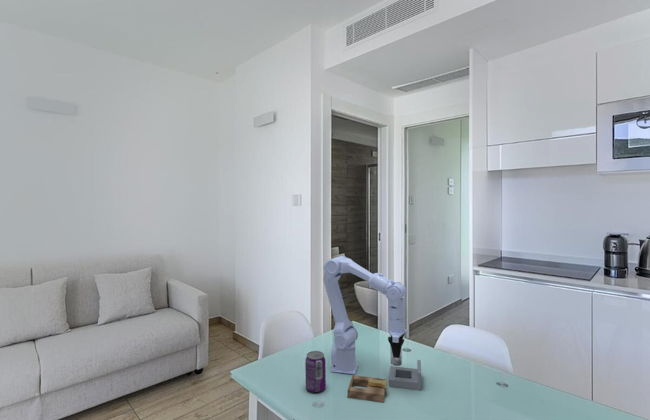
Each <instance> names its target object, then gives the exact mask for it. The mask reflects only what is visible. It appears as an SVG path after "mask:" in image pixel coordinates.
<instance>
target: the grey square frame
mask: <svg viewBox="0 0 650 420" xmlns="http://www.w3.org/2000/svg"><path fill="white" fill-rule="evenodd" d="M416 364H417V366H416V367H417V368H412V367H411V368H410V367H403V366H402V367H401V366H394V365H391V366H390V367H389V375H388V387H390V388H391V387H392V388H399V389H405V390H406V389H407V390H414V391H423V390H422V388H423V387H422V385H423V384H422V383H423V381H422V378H423V377H422V362H421V359H417V360H416Z"/></svg>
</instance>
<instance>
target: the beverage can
mask: <svg viewBox="0 0 650 420" xmlns="http://www.w3.org/2000/svg"><path fill="white" fill-rule="evenodd" d="M304 364H305V367H304V368H305V369H304V370H305V388H306V390H307V391H309V392H312V393H318V392H321V391H325V388H326V386H327V383H326V382H327V381H326V380H327V379H326V378H327V375H326V372H327V371H326V357H325V353H324V352H322V351H319V350H312V351H310V352H308V353H306V357H305V363H304Z"/></svg>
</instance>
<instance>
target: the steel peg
mask: <svg viewBox="0 0 650 420" xmlns="http://www.w3.org/2000/svg"><path fill="white" fill-rule="evenodd" d="M389 346H390V347H389V350H390V364H391V366H395V367H401V366H402V364H403V358H402V357H403V355H402V354H403V350H402V347H403V346H402V347H401V353H400V357H399V358H395V357H393V353H392V348H391V345H390V344H389Z"/></svg>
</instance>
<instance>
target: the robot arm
mask: <svg viewBox="0 0 650 420" xmlns="http://www.w3.org/2000/svg"><path fill="white" fill-rule="evenodd" d="M323 270H324V271H323V284H324V289H325V292H326V295H327V299H328V301H329V307H330V308H331V309H330V310H331V313H332V316H333V320H334V323H335V325H334V328H333V336H334V337H333V342H334V344H333V345H332V346H331V352H330V372H331V373H338V374H339V373H340V374H348V375H355V374H356V372H357V369H358V367H359V364H358V363H357V361H356V359H357V358H356V341H357V340H358V336H359V332H358V331H357V330H358V329H357V328H355V326H354V322H352V320H350V319H349V317H348V316H349V315H348V313H347V310H346V305H345V302H344V299H343V296H342V295H343V294H342V292H341V288H340V285H339V280H340V278H341V276H342V275H344V274H348V273H350V274H352V275H353V276H354V275H355V276H356V277H359V278H361V279H362V280H364V281H366V282H368V285H369V287H371V288H373V289H374V290H376V291H378V293H381V294H383V295H385V297H386V299H387V301H388V302H387V303H388V304H387V317H388V318H387V319H388V323H387V324H388V326H387V327H388V328H387V332H388V334H389V335H390V336H388V337H387V341H388V343H389V346H390V345H391V348H392V353H393V357H395V358H399V357H400V353H401V347H403V345H404V343H405V338H404V337H405V334H408V333H409V329H408V328H406V327H405V322H406V321H405V295H406V294H407V287H406V286H405V285H404V284H403V283H402V282H399V281H396V282H395V280H393V279H390V278H389V277H386V276H384V274H383V272H375V273H372V272H370V271H369V270H368V269H366V268H364V267H363V266H361V265H359V264H358V263H356V262H355V261H354V260H352V259H351V258H350V257H346V256H345V255H339V256H336V257H333V258H329V259H327V260H326V261H325V264H324V265H323Z"/></svg>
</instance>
